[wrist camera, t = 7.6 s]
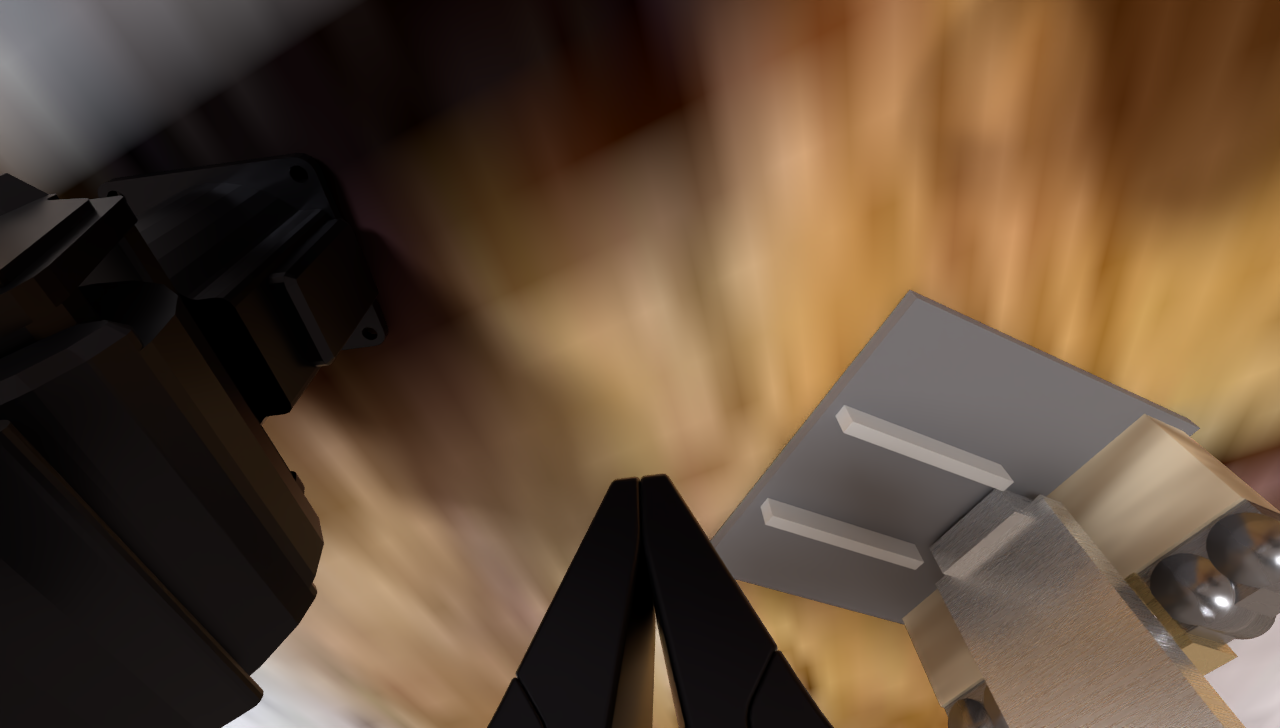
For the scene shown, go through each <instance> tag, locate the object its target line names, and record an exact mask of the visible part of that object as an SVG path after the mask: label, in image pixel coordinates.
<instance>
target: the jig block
mask: <svg viewBox="0 0 1280 728" xmlns="http://www.w3.org/2000/svg"><path fill="white" fill-rule="evenodd" d="M1046 497H1048V498H1051V499H1054V500H1056V501H1059V502H1061V503H1062V504H1063V505H1064V507H1065V508H1066V509H1067V510H1068V512H1069V513H1070V514H1071V515H1072V516H1073V518H1074V519H1075V520H1076V521H1077V523H1078V524H1079V525H1080V526H1081V527H1082V529H1083V530H1084V531H1085V532H1086V534H1087V535H1088V536H1089V537H1090V538H1091V540H1092V541H1093V542H1094V543H1095V545H1096V546H1097V547H1098V548H1099V549H1100V551H1101V552H1102V553H1103V554H1104V556H1105V557H1106V558H1107V559H1108V560H1109V562H1110V563H1111V564H1112V565H1113V566H1114V568H1115V569H1116V570H1117V571H1118V573H1119V574H1120V575H1121V576H1122V577H1123V579H1125V578H1126V577H1128V576H1129V575H1131V574H1132V573H1133V572H1134V573H1139V572H1140V571H1142V570H1143V569H1145V568H1146V567H1147V566H1149V565H1150V564H1152V563H1153V562H1155V561H1156V560H1158V559H1159V558H1160V557H1162V556H1163V555H1165V554H1166V553H1168V552H1169V551H1171V550H1172V549H1173V548H1175V547H1176V546H1178V545H1179V544H1181V543H1182V542H1184V541H1185V540H1186V539H1188V538H1189V537H1191V536H1192V535H1194V534H1195V533H1197V532H1198V531H1199V530H1201V529H1202V528H1204V527H1205V526H1207V525H1208V524H1210V523H1211V522H1212V521H1214V520H1215V519H1217V518H1218V517H1220V516H1221V515H1223V514H1224V513H1225V512H1227V511H1228V510H1230V509H1231V508H1233V507H1234V506H1236V505H1237V504H1238V503H1240V502H1241V501H1243V500H1244V499H1246V500H1249V501H1251V502H1253V503H1256V504H1258V505H1261V506H1263V507H1265V508H1268V509H1270V510H1272V511H1275V512H1277V513H1279V514H1280V512H1279V511H1278V510H1277V509H1276V508H1275V507H1273V506H1272V505H1271V504H1270V503H1269V502H1268V501H1266V500H1265V499H1264V498H1263V497H1262V496H1260V495H1259V494H1258V493H1257V492H1256V491H1254V490H1253V489H1252V488H1251V487H1250V486H1248V485H1247V484H1246V483H1245V482H1244V481H1242V480H1241V479H1240V478H1239V477H1238V476H1236V475H1235V474H1234V473H1233V472H1232V471H1230V470H1229V469H1228V468H1227V467H1226V466H1224V465H1223V464H1222V463H1221V462H1220V461H1218V460H1217V459H1216V458H1215V457H1214V456H1213V455H1211V454H1210V453H1209V452H1208V451H1207V450H1205V449H1204V448H1203V447H1202V446H1201V445H1199V444H1198V443H1197V442H1196V441H1195V440H1193V439H1192V438H1191V437H1190V436H1189V435H1187V434H1186V433H1185V432H1184V431H1182V430H1180V429H1177V428H1175V427H1173V426H1171V425H1168V424H1166V423H1164V422H1162V421H1160V420H1157V419H1155V418H1153V417H1151V416H1149V415H1146V414H1143V415H1142V416H1141V417H1140V418H1139V419H1138V420H1136V421H1135V422H1134V423H1133V424H1132V425H1130V426H1129V427H1128V428H1127V429H1126V430H1125V431H1123V432H1122V433H1121V434H1120V435H1119V436H1117V437H1116V438H1115V439H1114V440H1113V441H1112V442H1110V443H1109V444H1108V445H1107V446H1106V447H1104V448H1103V449H1102V450H1101V451H1100V452H1099V453H1097V454H1096V455H1095V456H1094V457H1093V458H1091V459H1090V460H1089V461H1088V462H1087V463H1085V464H1084V465H1083V466H1082V467H1081V468H1080V469H1078V470H1077V471H1076V472H1075V473H1074V474H1072V475H1071V476H1070V477H1069V478H1068V479H1067V480H1065V481H1064V482H1063V483H1062V484H1061V485H1059V486H1058V487H1057V488H1056V489H1055V490H1054V491H1052V492H1051V493H1050V494H1049V495H1048V496H1046ZM902 620H903V622H904V624H905V626H906V629H907V631H908V633H909V636H910V638H911V640H912V642H913V645H914V647H915V649H916V652H917V654H918V656H919V658H920V661H921V663H922V665H923V668H924V670H925V672H926V674H927V677H928V679H929V681H930V684H931V686H932V688H933V690H934V693H935V695H936V697H937V700H938V702H939V704H940V706H941V707H945V706H947V705H948V704H950V703H951V702H953V701H954V700H956V699H957V698H958V697H960V696H961V695H963V694H964V693H966V692H967V691H968V690H970V689H971V688H973V687H974V686H976V685H977V684H979V683H980V682H981V681H983V680H984V678H983V676H982V674H981V672H980V670H979V668H978V666H977V664H976V662H975V660H974V658H973V656H972V654H971V652H970V650H969V648H968V647H967V645H966V643H965V641H964V639H963V637H962V635H961V633H960V631H959V629H958V627H957V625H956V623H955V621H954V619H953V617H952V615H951V613H950V612H949V610H948V608H947V606H946V604H945V602H944V600H943V598H942V596H941V594H940V592H939V590H938V589H936V590H935V591H934V592H933V593H932V594H931V595H929V596H928V597H927V598H926V599H925V600H923V601H922V602H921V603H920V604H919V605H918V606H916V607H915V608H914V609H913V610H912V611H910V612H909V613H908V614H907V615H906V616H905V617H903V618H902Z"/></svg>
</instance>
